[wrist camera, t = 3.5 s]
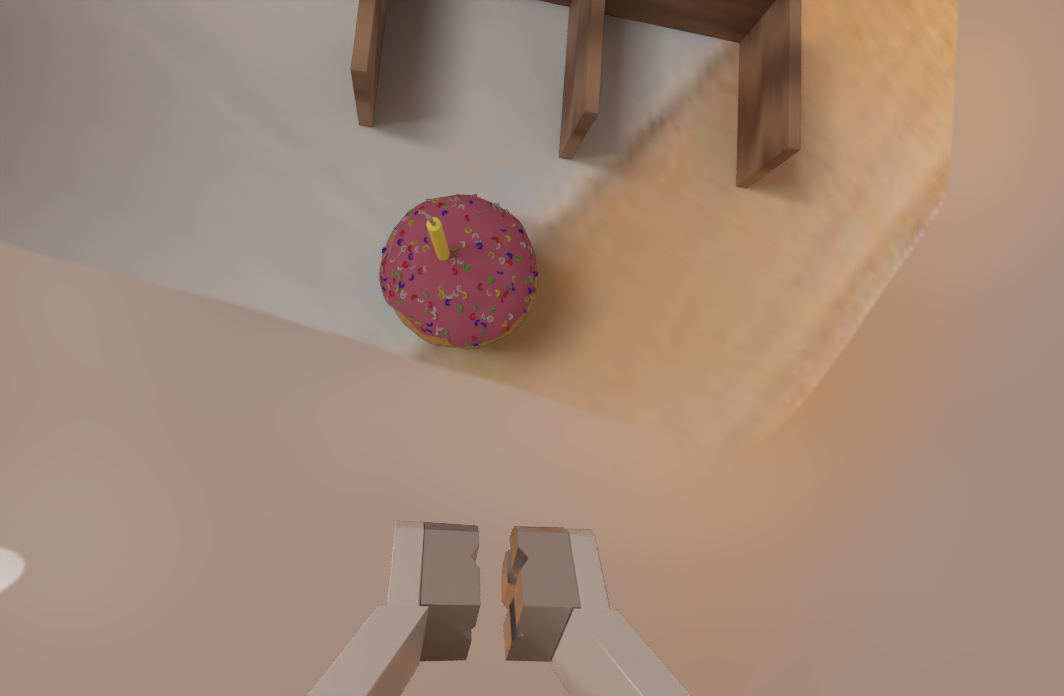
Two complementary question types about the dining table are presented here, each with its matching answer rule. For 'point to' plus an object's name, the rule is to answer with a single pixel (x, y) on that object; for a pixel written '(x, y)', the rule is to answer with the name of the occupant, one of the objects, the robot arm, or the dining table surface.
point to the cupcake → (459, 271)
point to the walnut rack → (681, 3)
